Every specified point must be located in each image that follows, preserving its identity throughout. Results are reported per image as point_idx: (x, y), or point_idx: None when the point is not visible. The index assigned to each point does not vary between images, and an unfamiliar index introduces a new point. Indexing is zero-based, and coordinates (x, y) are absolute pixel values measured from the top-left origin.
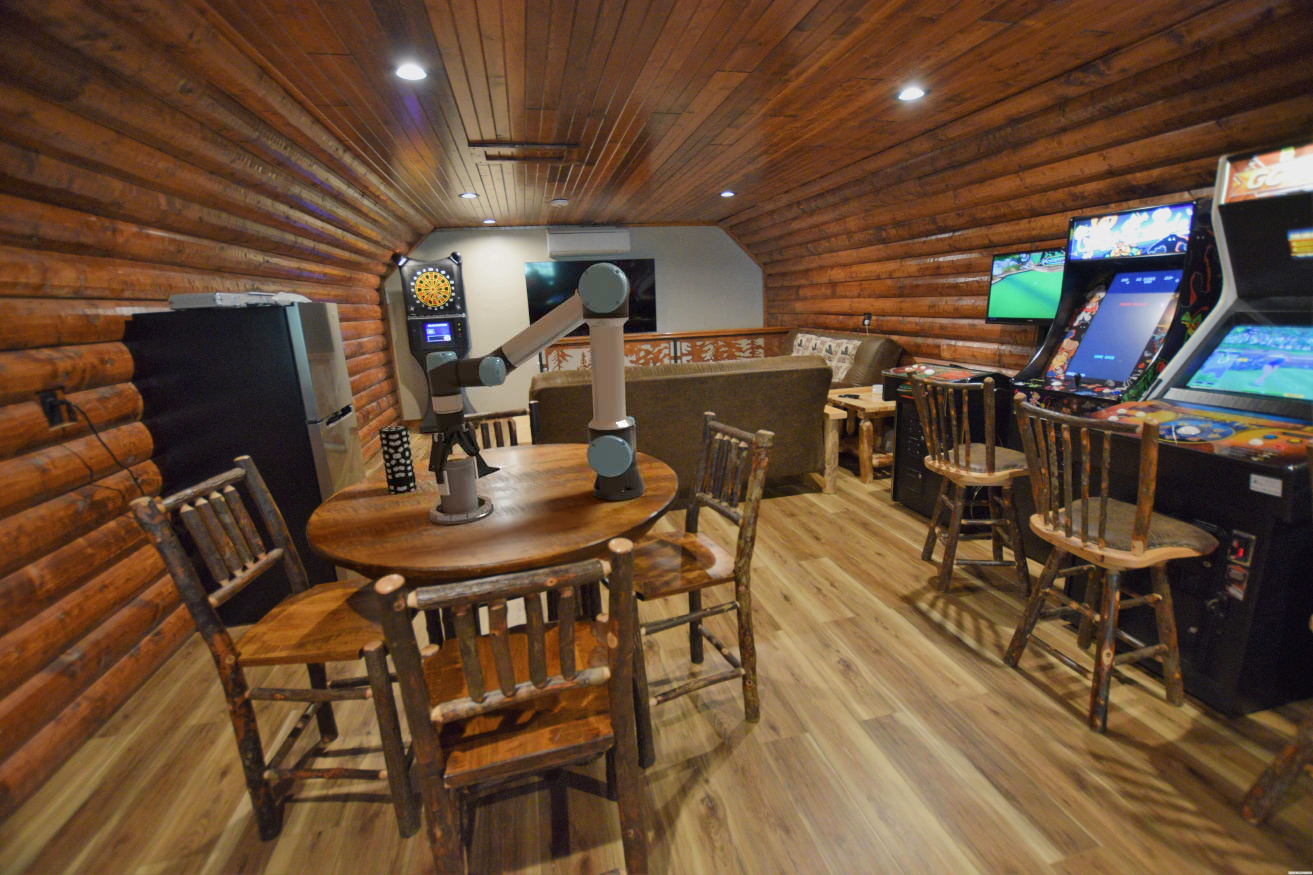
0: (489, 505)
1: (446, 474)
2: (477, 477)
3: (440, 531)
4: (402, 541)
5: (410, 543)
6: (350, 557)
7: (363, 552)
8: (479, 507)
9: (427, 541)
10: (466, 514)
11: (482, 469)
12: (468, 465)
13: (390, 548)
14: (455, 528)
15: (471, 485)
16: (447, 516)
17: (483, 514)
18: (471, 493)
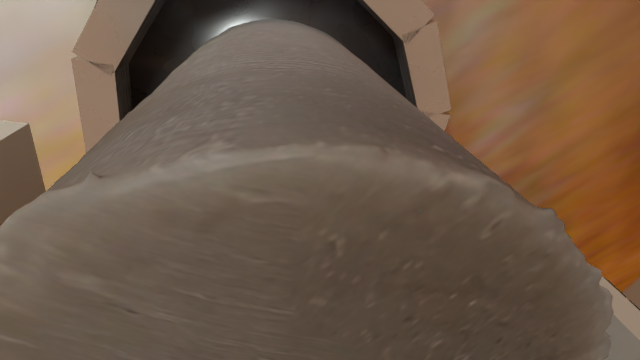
0: None
1: (620, 318)
2: (3, 127)
3: (499, 113)
4: (558, 209)
5: (590, 172)
6: (627, 282)
7: (604, 270)
8: (221, 25)
9: (597, 116)
10: (436, 22)
11: None
12: (435, 164)
13: (608, 215)
14: (479, 54)
15: (329, 54)
16: (444, 128)
17: None
18: (331, 45)
